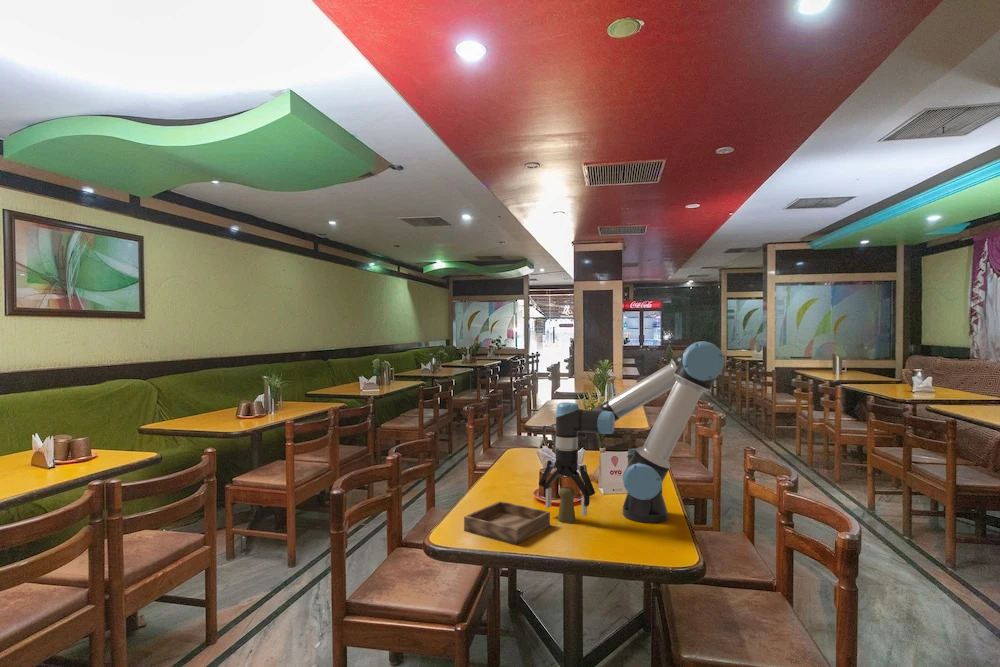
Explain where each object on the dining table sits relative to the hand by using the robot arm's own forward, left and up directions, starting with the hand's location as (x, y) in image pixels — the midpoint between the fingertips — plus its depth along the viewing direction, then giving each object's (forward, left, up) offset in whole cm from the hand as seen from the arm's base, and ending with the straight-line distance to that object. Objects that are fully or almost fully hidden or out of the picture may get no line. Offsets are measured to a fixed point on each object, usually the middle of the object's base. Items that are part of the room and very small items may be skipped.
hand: (565, 511), depth 174 cm
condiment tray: (+12, +18, -3) cm, 22 cm away
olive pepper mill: (0, 0, -3) cm, 3 cm away
